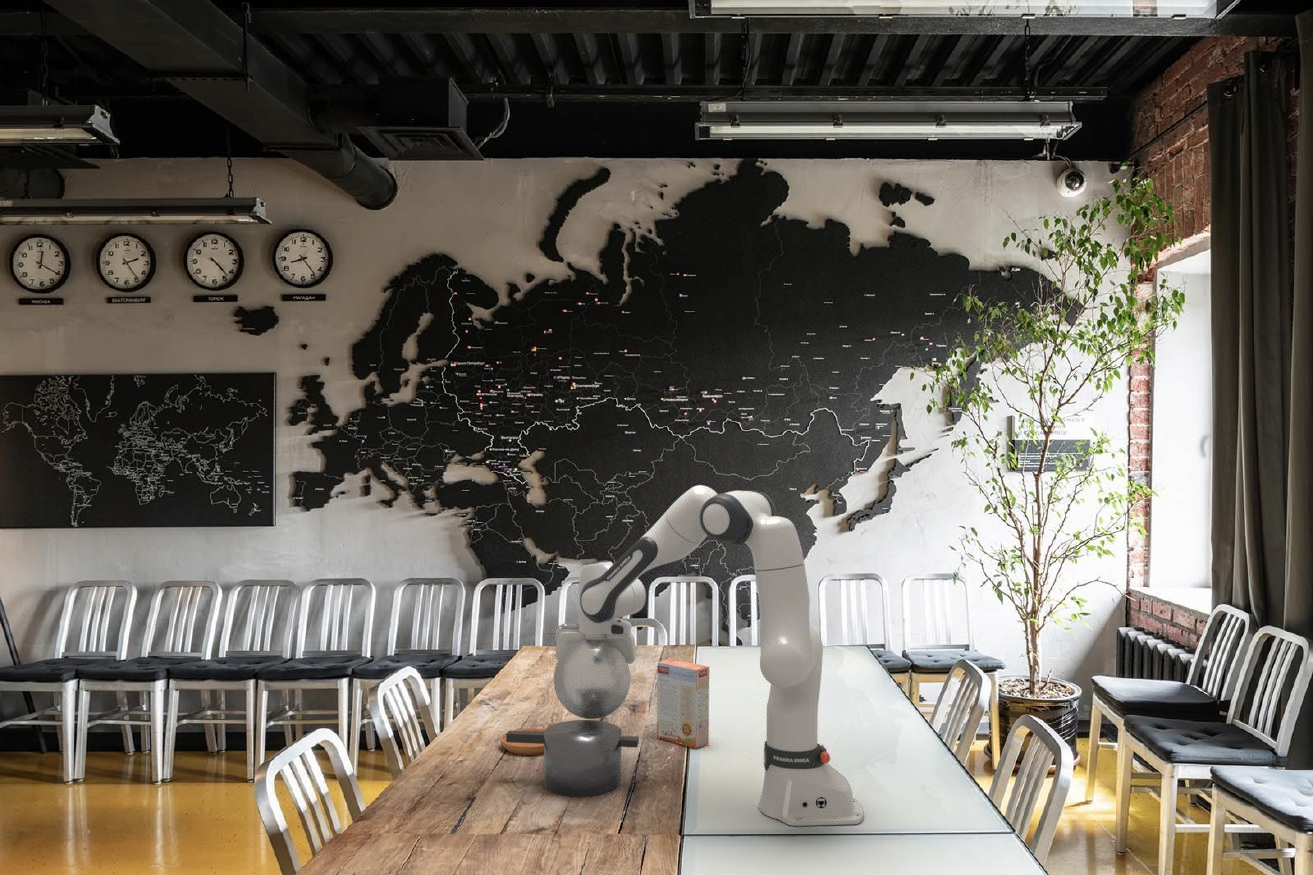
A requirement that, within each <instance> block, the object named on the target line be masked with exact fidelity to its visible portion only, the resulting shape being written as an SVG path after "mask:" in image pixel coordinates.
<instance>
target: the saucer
mask: <svg viewBox="0 0 1313 875" xmlns="http://www.w3.org/2000/svg"><path fill="white" fill-rule="evenodd" d="M545 729H546V728H538V727H537V728H531V727H530V728H520V729H514V730H512V731H530V732H544V731H545ZM506 734H507V732H505V733H503V734H502V735H501V736H500V738H499V740H500V741H499V742H500V744H501V745H502V746H503V747H504V748H505V749H506V751H508V752H509V753H512V754H516V755H521V756H534V755H542V754H543V755H544V744H535V743H513V742H506Z"/></svg>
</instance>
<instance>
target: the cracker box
mask: <svg viewBox="0 0 1313 875" xmlns="http://www.w3.org/2000/svg"><path fill="white" fill-rule="evenodd" d="M656 688H657V691H656V692H657V693H656V697H657V698H656V699H657V700H656V701H657V702H656V738H657V737H660V738H663V739H665V740H664V741H666V740H669V741H668V742H670V741H672V742H671V743H673V742H678V743H682V744H684V745H687V746H688V747H687V746H686V747H687V748H692V749H694V750H695V749H698V748H702V747H704V746H708V745H709V742H710V741H709V739H710V738H709V734H710V733H709V732H710V730H709V729H710V716H709V715H710V666H707V665H703V664H697V663H693V662H687V661H683V660H678V659H673V658H668V659H664V660H661V661H658V662H657V686H656ZM663 739H662V740H663ZM684 745H683V746H684Z"/></svg>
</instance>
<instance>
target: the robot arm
mask: <svg viewBox="0 0 1313 875" xmlns="http://www.w3.org/2000/svg"><path fill="white" fill-rule="evenodd" d="M707 537H709V538H711V539H713V540H715V541H718V542H721V543H722V542H723V543H728V544H733V545H735V546H742V545H743V544H745V545H747V546H748V548H749V550H750V552H751V554H752V562H753V568H754V569H753V570H754V575H755V582H756V589H757V590H756V591H757V596H758V603H759V605H758V606H759V641H760V642H759V643H760V644H759V645H760V658H759V669H760V672H761V674H762V676H763V678H764V679H765V680H766V682H768V684H770V687H769V695H768V700H767V703H766V740H765V741H764V746H763V768H764V779H763V785H762V789H761V790H762V791H761V794H760V799H759V801H758V806H757V808H758V809H759V811H760V812H761V813H762V814H764V815H765V816H768V817H770V818H772V819H776V820H779V821H782V822H783V823H784V824H786V825H788V826H792V827H795V826H796V827H797V826H803V827H804V826H833V825H834V826H835V825H837V826H838V825H841V826H842V825H857V824H860V823H862V821H863V820H864V817H865V816H864V808H863V806H862V803H860V802H859V800H858V799H856V798H854V796H853V791H852V787H851V784H850V782H849V780H848V779H847V777H846V776H845V775H843V774H842V773H841V772H839V771H838V770H837V769H836V768H834V767H833V766H832V765H831V764H829V762H831V755H830V753H829V752H827V748H826V747H825V746H824V744H820V743H818V727H819V726H818V721H819V720H818V716H819V715H818V714H819V701H820V693H821V685H822V684H821V682H822V670H823V654H824V652H823V651H824V646H823V645H824V644H823V640H822V638H821V636H820V635H819V633H818V632H817V631H816V630H814V629H813V628H812V627H810V601H811V599H810V592H809V586H808V585H809V583H808V579H807V577H808V576H807V573H806V572H807V571H806V565H805V559H804V555H803V549H802V546H801V542H800V538H799V534H798V532H797V529H796V527H795V525H794V523H793V522H792V521H791V520H790V519H789V518H786V517H782V516H778V515H777V508H776V504H775V502H774V500H773V499H772V498H771V497H770V495H768V494H767V493H764V492H762V491H760V490H753V489H752V490H751V489H749V490H733V491H728V492H724V493H717V492H716V491H715V490H714V489H712V488H711V487H709V486H706V485H703V484H698V485H695V486H692V487H691V488H689V489H688V490H686V491H685V492H684V493H682V495H680V497H678V498H677V499H676V500H675V501H674V502H673V503H672V504H671V505H670V506H669V507H668V509H667V510H666V511H665V512H664V513H663V515H661V517H660V518H659V519H658V520H657V521H656V522H655V523H654V524H653V525H652V526H651V527H650V528H649V530H648V531H647V532H645V533H644V534H643V535H642V536H641V537H640V538H639V539H638V540H637V541H636V542H635V543H634V544H632V546H630V547H629V549H627V550H626V551H625V552H624V553H623V554H622V555H621V556H620V557H619V558H618V559H617V560H616V561H615V562H614V563H613V562H612V561H610V560H598V561H590V562H586V563H584V564H583V566H582V567H581V569H580V574H579V583H578V598H579V609H578V624H577V623H571V624H568V623H562V624H560V625H559V626H556V628H555V639H556V645H555V646H556V648H555V659H556V660H557V661H558V660H559V658H560V657H561V656H562V654H563V653H564V652H565V651H566V650H567V649H568V648H569V647H571V646H572V645H574V644H576V643H578V642H581V641H584V640H601V641H605V642H607V643H609V644H611V645H613V646H614V647H616V648H617V649H618V650H619V651H620V652H621V653H622V655H623V656H624V658H625V659H626V661H627V663H628V665H630V664H633V663H634V662H635V661H636V659H637V651H636V650H637V647H636V640H635V637H634V635H633V633H632V632H631V631H632V623H631V622H629V621H627V620H624V619H621V618H623V617H627V616H631V615H634V614H637V613H639V612H640V611H642V610H643V608H644V607H645V604H646V602H647V589H646V587H645V585H644V584H643V582H642V581H641V580H640V579H639V578H640V576H642V575H644V574H645V573H646V572H648V571H650V570H652V569H654V568H657V567H661V566H662V565H666V564H669V563H673V562H676V561H679V560H682V559H684V558H685V557H687V556H688V555H690V554H691V553H693V552H694V551H695V550H696V549H698V547H699V545H701V544H702V542H703V541H704V540H705V539H706V538H707Z"/></svg>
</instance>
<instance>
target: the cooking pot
mask: <svg viewBox="0 0 1313 875" xmlns="http://www.w3.org/2000/svg"><path fill="white" fill-rule="evenodd" d="M544 729H545V731H544V732H530V731H513V730H508V731H507V732H506V733H507V734H506V742H513V743H535V744H544V753H543V786H544V787H543V788H545V789H546V790H547V791H549V792H551V793H553V794H556V795H559V796H565V797H572V798H573V797H574V798H575V797H576V798H583V797H584V798H586V797H587V798H588V797H596V796H601V795H602V796H603V795H605V794H609V793H612V792H613V791H616V790H617V789H618V788H620V787H621V786H620V785H621V784H620V783H622V748H636V749H637V748H638V746H639V743H640V741H639V740H640V737H639V736H632V735H629V736H628V735H622V729H621V728H620V726H618V725H616V724H614V723H611V722H608V721H603V720H597V719H576V720H575V719H574V720H565V721H560V722H557V723H554V724H551V725H550V726H547V727H546V728H544ZM616 788H617V789H616ZM615 789H616V790H615ZM608 792H609V793H608Z"/></svg>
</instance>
